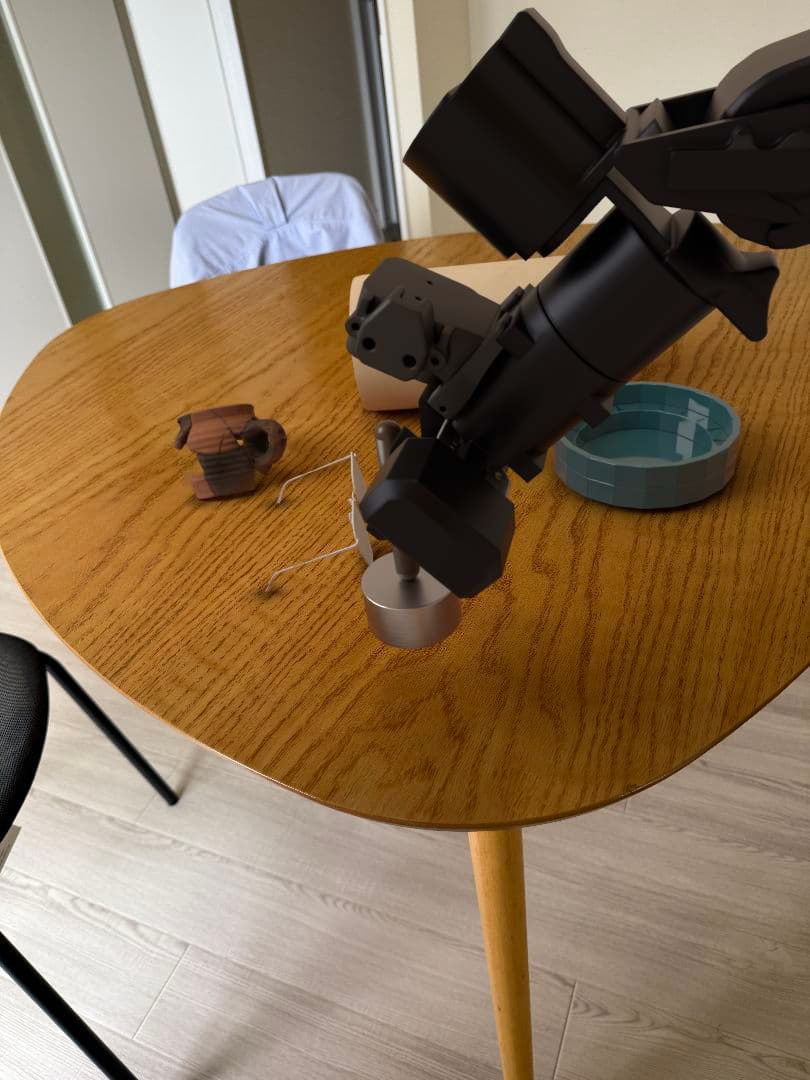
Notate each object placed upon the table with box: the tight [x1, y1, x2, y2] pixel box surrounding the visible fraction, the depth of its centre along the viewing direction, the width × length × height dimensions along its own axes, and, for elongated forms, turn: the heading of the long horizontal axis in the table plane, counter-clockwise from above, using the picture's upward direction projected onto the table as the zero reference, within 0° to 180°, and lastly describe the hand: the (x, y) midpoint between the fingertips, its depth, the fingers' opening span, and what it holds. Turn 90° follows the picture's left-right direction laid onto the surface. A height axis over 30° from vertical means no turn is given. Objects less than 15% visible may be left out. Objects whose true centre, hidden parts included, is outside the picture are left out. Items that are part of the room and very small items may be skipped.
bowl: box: [551, 380, 742, 510], centre depth 68 cm, size 15×15×4 cm
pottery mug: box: [173, 402, 288, 500], centre depth 75 cm, size 12×10×8 cm
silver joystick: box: [360, 419, 463, 650], centre depth 43 cm, size 6×6×13 cm
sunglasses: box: [265, 451, 374, 593], centre depth 65 cm, size 14×8×5 cm, turn 4°
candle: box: [348, 254, 567, 412], centre depth 80 cm, size 14×14×25 cm
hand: (377, 524), depth 43 cm, fingers closed on silver joystick
